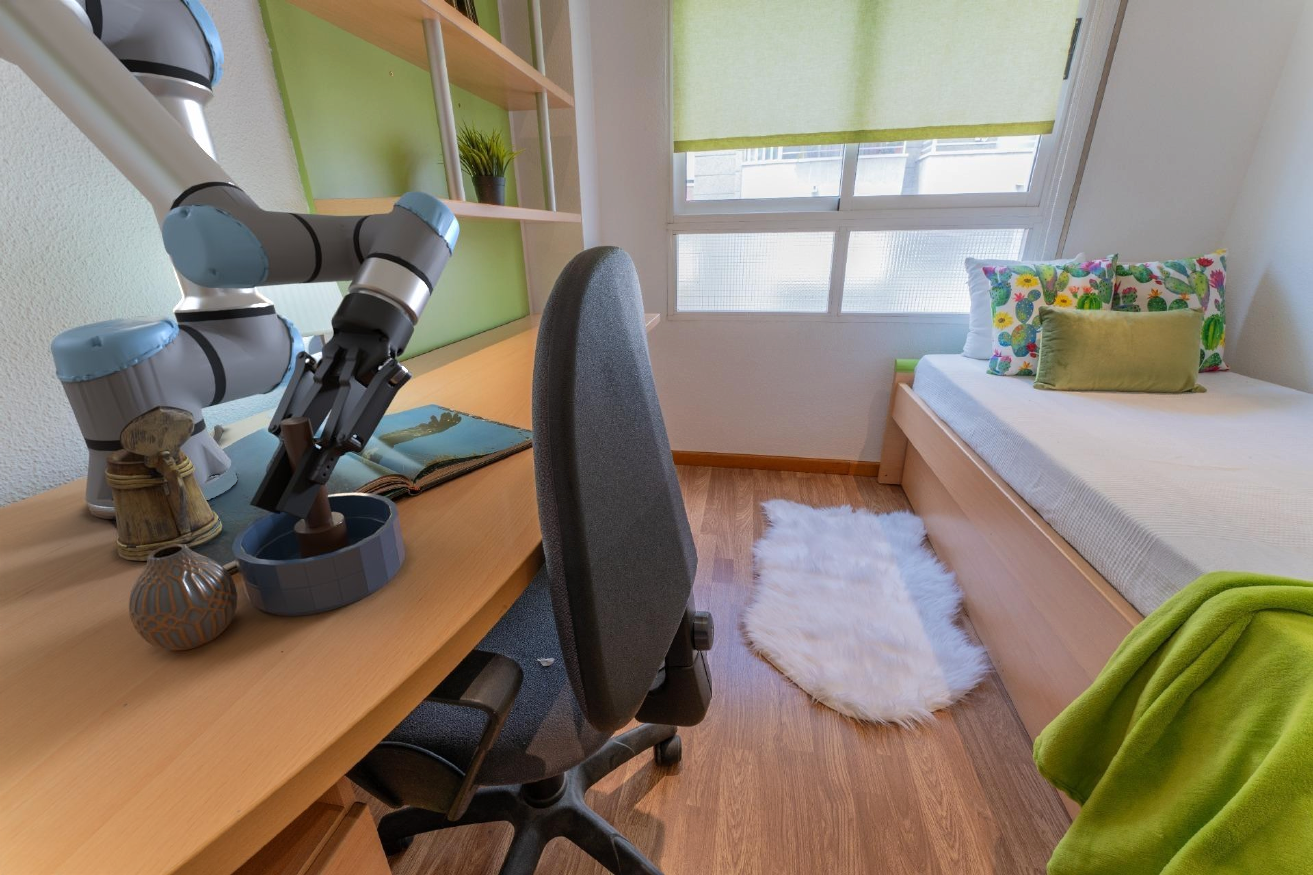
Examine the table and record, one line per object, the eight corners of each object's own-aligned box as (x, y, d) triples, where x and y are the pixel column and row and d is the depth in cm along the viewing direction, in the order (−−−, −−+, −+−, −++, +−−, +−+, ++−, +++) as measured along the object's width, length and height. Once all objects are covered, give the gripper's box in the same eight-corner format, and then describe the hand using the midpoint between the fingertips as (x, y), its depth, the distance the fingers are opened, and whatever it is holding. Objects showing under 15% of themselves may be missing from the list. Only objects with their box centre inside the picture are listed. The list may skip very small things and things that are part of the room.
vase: (263, 610, 50) (239, 530, 47) (203, 664, 43) (170, 576, 40) (193, 607, 50) (164, 528, 47) (122, 662, 43) (83, 574, 40)
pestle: (297, 555, 55) (260, 420, 49) (342, 539, 58) (313, 410, 52) (310, 572, 52) (273, 431, 46) (357, 554, 55) (328, 420, 50)
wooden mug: (158, 584, 53) (95, 418, 47) (106, 547, 59) (44, 395, 53) (255, 544, 60) (213, 395, 54) (200, 514, 67) (156, 378, 60)
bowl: (233, 573, 55) (217, 524, 53) (375, 524, 65) (367, 481, 63) (270, 641, 46) (253, 584, 44) (428, 572, 56) (421, 523, 54)
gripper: (458, 336, 59) (371, 535, 50) (349, 328, 63) (250, 511, 54) (419, 291, 53) (311, 512, 43) (300, 286, 57) (178, 487, 47)
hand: (277, 511), depth 49 cm, fingers closed on pestle, 2 cm apart
